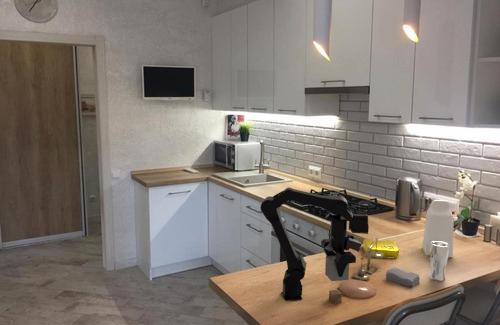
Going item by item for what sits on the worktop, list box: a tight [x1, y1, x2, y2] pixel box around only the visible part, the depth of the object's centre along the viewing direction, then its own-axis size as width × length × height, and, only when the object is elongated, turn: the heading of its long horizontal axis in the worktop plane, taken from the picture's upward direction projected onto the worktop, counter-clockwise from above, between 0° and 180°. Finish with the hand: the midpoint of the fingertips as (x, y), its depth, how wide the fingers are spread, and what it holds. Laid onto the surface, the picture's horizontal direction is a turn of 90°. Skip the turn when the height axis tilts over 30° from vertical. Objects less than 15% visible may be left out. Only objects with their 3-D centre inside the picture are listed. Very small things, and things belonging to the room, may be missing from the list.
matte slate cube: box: [324, 255, 350, 282], centre depth 159 cm, size 6×6×7 cm
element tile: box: [362, 238, 400, 259], centre depth 212 cm, size 15×15×5 cm
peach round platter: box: [338, 279, 377, 299], centre depth 170 cm, size 14×14×1 cm
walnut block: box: [328, 289, 343, 304], centre depth 160 cm, size 4×4×4 cm
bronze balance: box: [352, 238, 384, 281], centre depth 188 cm, size 25×7×12 cm, turn 145°
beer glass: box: [428, 241, 449, 282], centre depth 181 cm, size 7×7×15 cm
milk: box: [422, 199, 454, 258], centre depth 211 cm, size 12×12×26 cm
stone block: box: [385, 267, 420, 288], centre depth 180 cm, size 12×5×10 cm
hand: (336, 273), depth 159 cm, fingers closed on matte slate cube, 6 cm apart
